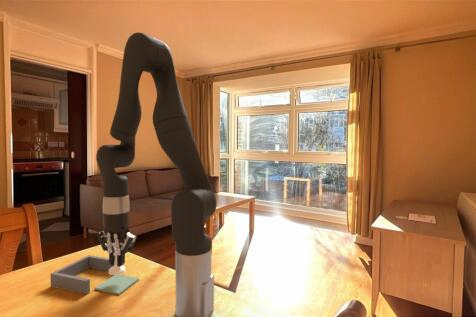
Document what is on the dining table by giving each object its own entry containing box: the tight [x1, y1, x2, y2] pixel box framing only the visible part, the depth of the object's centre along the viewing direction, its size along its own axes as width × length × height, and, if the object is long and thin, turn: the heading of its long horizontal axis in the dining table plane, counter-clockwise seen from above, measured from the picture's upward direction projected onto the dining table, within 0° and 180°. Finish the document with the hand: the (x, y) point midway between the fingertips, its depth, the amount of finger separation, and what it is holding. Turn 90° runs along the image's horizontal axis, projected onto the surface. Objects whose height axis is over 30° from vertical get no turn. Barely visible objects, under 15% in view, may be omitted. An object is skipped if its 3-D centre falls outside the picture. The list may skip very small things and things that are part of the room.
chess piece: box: [107, 245, 127, 276], centre depth 85 cm, size 5×5×10 cm
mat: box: [94, 274, 140, 296], centre depth 85 cm, size 9×9×1 cm
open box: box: [50, 254, 114, 295], centre depth 89 cm, size 14×14×4 cm
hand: (116, 264), depth 85 cm, fingers closed on chess piece
